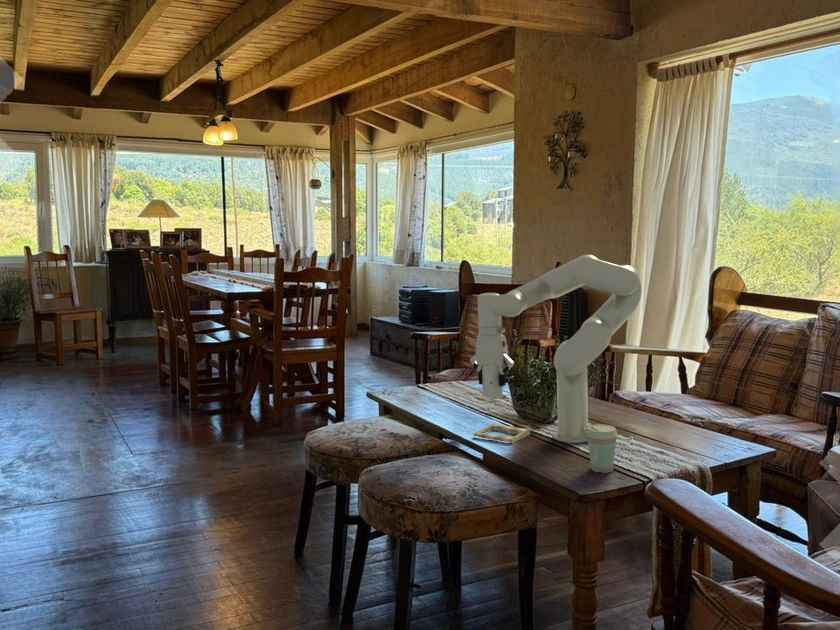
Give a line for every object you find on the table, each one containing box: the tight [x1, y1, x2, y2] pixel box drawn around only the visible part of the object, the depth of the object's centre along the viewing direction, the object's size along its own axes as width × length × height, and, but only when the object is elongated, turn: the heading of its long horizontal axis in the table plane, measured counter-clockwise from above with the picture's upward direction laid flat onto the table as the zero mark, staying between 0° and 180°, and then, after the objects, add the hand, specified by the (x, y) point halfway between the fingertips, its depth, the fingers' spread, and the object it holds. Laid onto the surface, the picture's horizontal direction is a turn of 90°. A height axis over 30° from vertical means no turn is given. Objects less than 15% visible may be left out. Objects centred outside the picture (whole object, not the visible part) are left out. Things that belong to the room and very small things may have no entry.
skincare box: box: [481, 363, 503, 400], centre depth 236 cm, size 6×4×12 cm
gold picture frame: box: [473, 423, 531, 443], centre depth 237 cm, size 14×12×2 cm
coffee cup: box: [586, 423, 619, 474], centre depth 202 cm, size 8×8×12 cm
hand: (492, 384), depth 237 cm, fingers closed on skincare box, 7 cm apart
